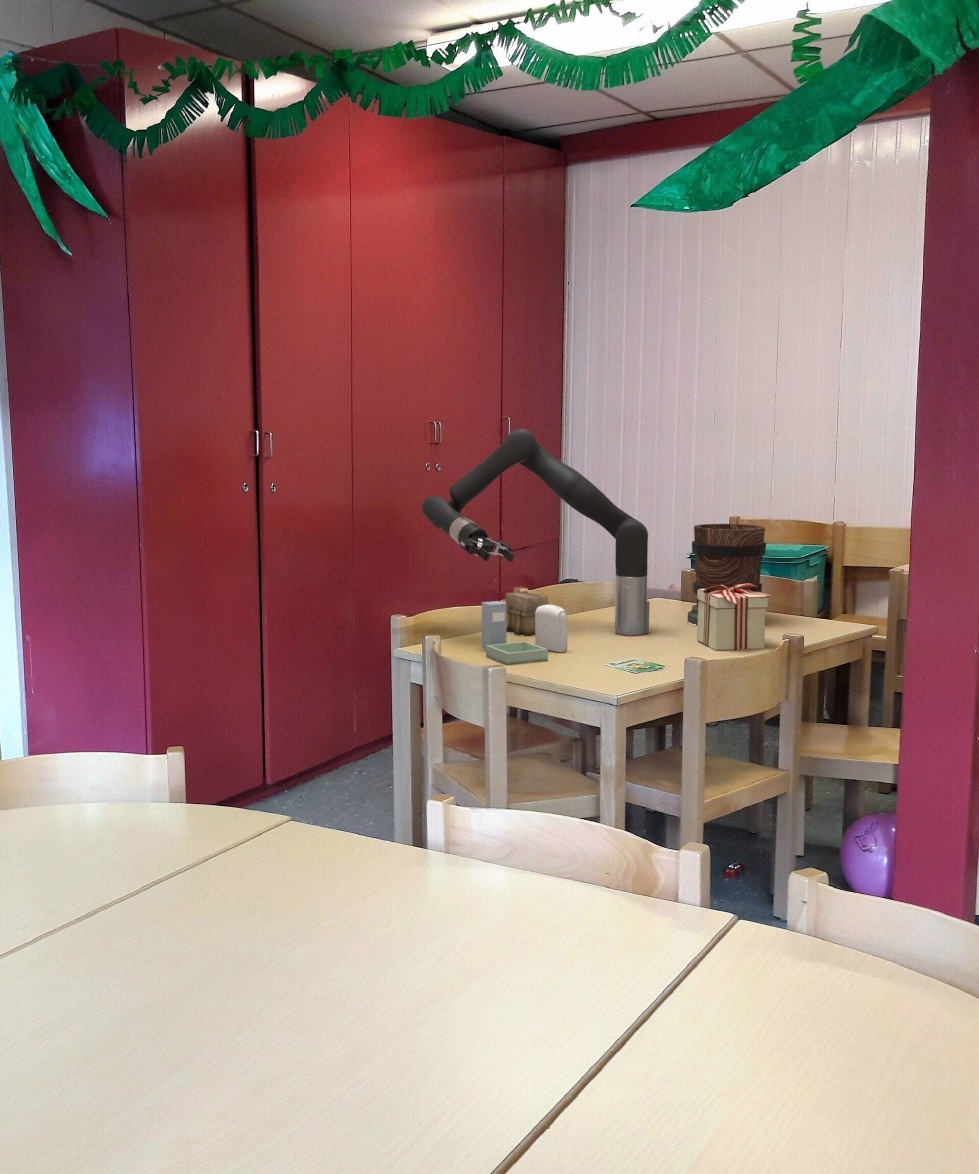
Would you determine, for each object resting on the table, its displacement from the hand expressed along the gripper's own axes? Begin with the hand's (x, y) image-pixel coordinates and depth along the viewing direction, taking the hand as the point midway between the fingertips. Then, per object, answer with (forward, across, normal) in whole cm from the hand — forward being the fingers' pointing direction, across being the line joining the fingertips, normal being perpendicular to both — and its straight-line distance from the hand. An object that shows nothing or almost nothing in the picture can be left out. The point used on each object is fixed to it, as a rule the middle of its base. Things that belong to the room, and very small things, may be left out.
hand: (500, 558), depth 296 cm
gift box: (+44, +54, +5) cm, 70 cm away
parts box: (+10, -1, +23) cm, 25 cm away
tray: (+22, -4, +19) cm, 29 cm away
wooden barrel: (+19, +84, +11) cm, 86 cm away
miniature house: (-3, +24, +25) cm, 35 cm away
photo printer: (+19, +11, +19) cm, 29 cm away
